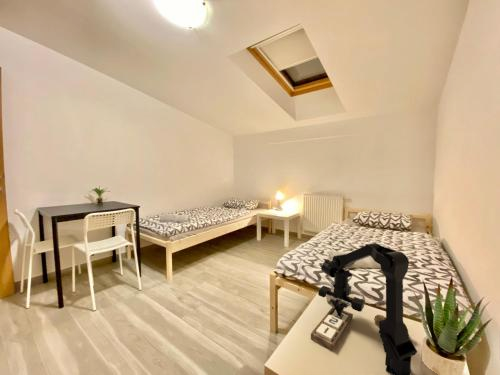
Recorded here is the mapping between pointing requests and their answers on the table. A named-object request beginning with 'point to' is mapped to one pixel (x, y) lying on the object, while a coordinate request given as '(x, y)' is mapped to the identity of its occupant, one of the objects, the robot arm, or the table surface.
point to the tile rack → (338, 335)
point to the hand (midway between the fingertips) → (339, 315)
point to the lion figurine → (379, 319)
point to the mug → (330, 296)
